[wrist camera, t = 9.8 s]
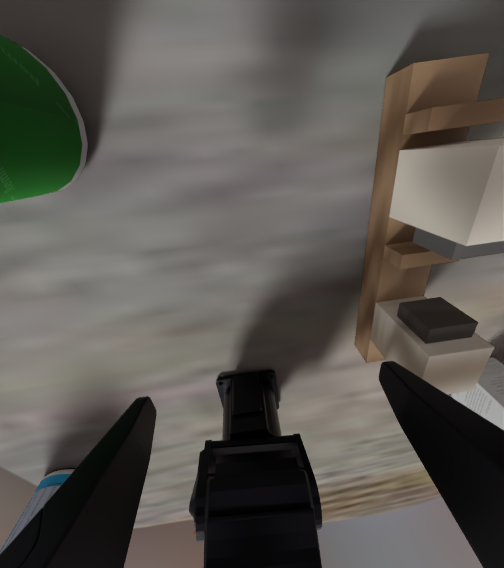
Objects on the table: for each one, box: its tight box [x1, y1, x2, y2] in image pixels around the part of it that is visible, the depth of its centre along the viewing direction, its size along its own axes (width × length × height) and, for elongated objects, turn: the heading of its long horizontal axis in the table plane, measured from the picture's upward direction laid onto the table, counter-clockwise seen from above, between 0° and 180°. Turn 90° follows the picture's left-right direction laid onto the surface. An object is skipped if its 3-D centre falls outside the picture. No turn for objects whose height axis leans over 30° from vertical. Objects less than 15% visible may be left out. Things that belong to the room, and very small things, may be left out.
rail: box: [355, 53, 504, 394], centre depth 16 cm, size 22×4×8 cm, turn 7°
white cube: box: [389, 138, 504, 260], centre depth 13 cm, size 5×4×6 cm
